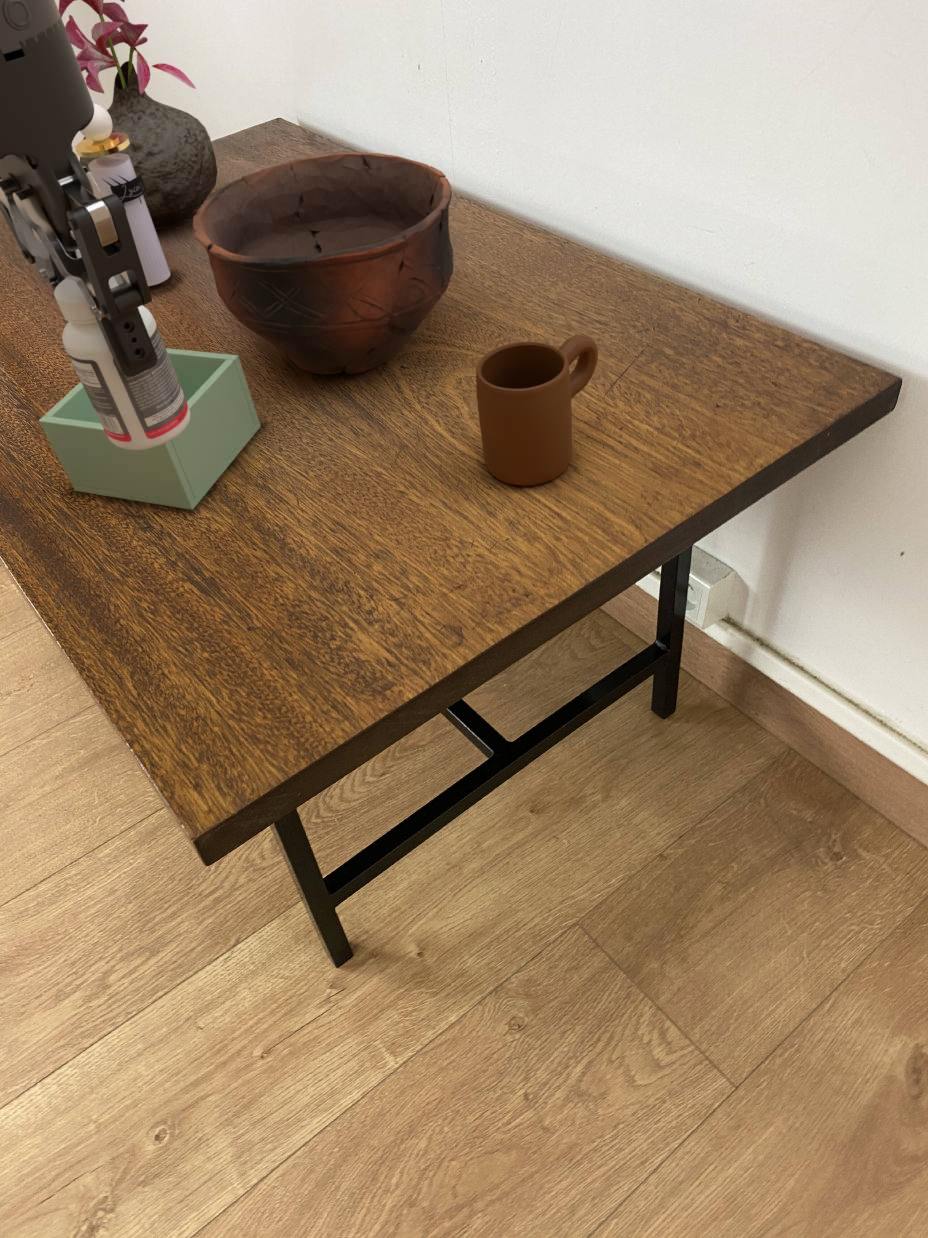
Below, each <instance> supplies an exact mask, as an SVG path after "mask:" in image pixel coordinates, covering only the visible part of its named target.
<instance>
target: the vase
mask: <svg viewBox="0 0 928 1238" xmlns="http://www.w3.org/2000/svg"><path fill="white" fill-rule="evenodd" d="M75 1H77V0H58V10H59V13H60V16H61V18H63V15H64V14H65V12H66V10H67V8H68V7H69V6H70V5H71V4H72V3H74V2H75ZM81 1H82V2H83V3H85V4H86V5H88V7H90V8H91V9H92V10H93V11H94V12H95V13H96V14H97V15H98V17H99V20H100V21H99V22H96V23H94V25H93V27H92V28H91V39H92V40H93V41H94V42H92V41H91V40H90V39H89V38H88V37H87V36H86V35H85V34H84V32H82V30H81V29H80V28H79V25H78V24H77V22H76V21H75V19H74V16H73V15H71V14H69V15H68V21H67V22H66V24H65V25H64V26H65V29H66V32H67V34H68V37H69V40H70V42H71V45H72V46H73V47H76V48H77V49H80V51H79V53H77V55H75V56H76V59H77V61H78V64H79V67H80V69H81V72H82V73H83V72H84V71H85V72H86V73H87V75H86V77H85V83H86V85H87V88H88V89H89V90H91V91H93V92H96V93H99V94H105V90H104V88H103V86H102V83H101V81H100V78H99V73H100V72H102V71H105V70H107V69H111V68H116V69H117V72H116V75H115V77H114V83H113V94H112V102H111V104H110V106H109V107H108V108H107V109H106V110H107V111H108V113H109V114H110V116H111V119H112V123H113V128H112V132H120V133H125V134H127V135H128V137H129V140H130V144H129V146H127V147H126V148H125V149H123V150H121V151H119V152H117V153H123V154H127V155H129V157H130V160H131V162H132V165H133V168H134V171H135V174H136V177H137V176H138V175H139V174H140V173H141V176H142V179H143V182H144V184H145V187H146V194H147V195H146V194H145V193H144V194H143V196H144V199H145V202H146V205H147V208H148V211H149V213H150V216H151V219H152V222H153V225H154V228H155V230H163V229H170V228H174V227H175V228H176V227H178V226H180V225H183V224H185V223H187V222H188V221H190V220H191V219H192V218H193V217H194V211H195V210H197V209H199V208H200V207H201V205H202V204H203V203H204V202H205V201H206V200H207V199H208V197H209V196H210V194H211V193H212V192H213V190H214V189H215V187H216V186H217V185H216V184H217V178H218V172H219V171H218V166H217V159H216V155H215V150H214V147H213V143H212V140H211V136H210V135H209V133H208V130H207V128H206V126H204V124H203V123H202V122H201V121H200V120H199V119H198V118H196V117H195V116H193V115H192V114H190V113H188V112H187V111H184V110H181V109H179V108H176V107H173V106H170V105H167V104H165V103H161V102H160V101H157V100H154V99H153V98H152V97H150V96H149V95H148V93H147V92H146V88H147V87H148V84H149V83H150V80H151V70H150V69H151V68H150V65H149V64H148V62H147V60H146V59H145V57H144V56H143V55H142V54H141V52H140V51H139V50H138V49H137V47H139V46H141V45H143V44H146V43H147V42H148V37H147V36H142V35H143V33H144V32H145V30H146V29H147V28H148V27H149V24H148V23H137V24H136V23H132V22H130V20H129V17H128V16H127V14H126V11H125V10H124V9H123V7H122V6H121V5H120V4H119V3H117V2H114V1H113V2H104V0H81ZM120 2H122V3H125V2H126V0H120ZM104 16H106V17H107V18H108V19H109V20H110V21H106V20H105V18H104ZM118 29H119V30H120V31H119V30H118ZM123 43H124V44H126V45H127V46H128V47H129V55H128V60H127V61H125V62H123V63H122V64H121V65H120V62H119V59H118V56H117V54H116V50H115V46H117V45H119V44H123ZM108 49H110V51H109V50H108ZM134 52H136V68H135V66H134V64H133V59H134ZM151 67H152V68H154V69H157V70H160V71H162V72H165V73H166V74H168V75H171V76H172V77H174V78H176V79H177V80H179V81H181V82H182V83H183V84H185V85H186V86H188V87H189V88H192V89H194V90H197V87H196V86H195V84H194V83H193V82H192V80H190V79H189V77H188V76H187V75H186V74H185V73H184V72H183V71H182V70H181V69H179V68H177V67H175V66H174V65H171V64H169V63H163V62H162V63H161V62H160V63H155V64H152V65H151ZM112 132H111V133H112ZM85 139H87V138H86V137H85V136H84V135H83V139H82V141H83V140H85ZM117 153H114V154H117ZM97 158H99V157H96V158H84V157H80V156H79V161H80V163H81V165H82V167H84V166H85V167H87V168H88V169H89V167H88V165H89V163H90V162H91V161H93V160H95V159H97ZM89 171H90V169H89ZM140 187H141V188H142V185H141V186H140ZM143 189H144V187H143ZM142 192H143V191H142ZM147 197H148V198H147Z"/></svg>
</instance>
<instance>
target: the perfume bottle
mask: <svg viewBox="0 0 928 1238" xmlns="http://www.w3.org/2000/svg"><path fill="white" fill-rule="evenodd" d="M93 105H94V116H93V119H92V121H91V122H90V124H89V125H88V126H87V127H86V128H85V129H84V130H81V131H79V132H80V133H81V135H82V136H83V137H84V136H85V137H86V138H87V139H85V140H83V139H82V140H81V141H79V142H78V143H77V144H76V145H74V146H75V147H74V148H75V151H76V155H77V156H79V158H80V157H84V158H96V157H99V158H97V159H95V160H93V161H91V162H90V163H89V165H88V167H89V169H90V172H91V174H92V175H93V177H94V179H95V181H96V183H97V185H98V187H99V189H100V191H101V194H102V198H103V197H105V196H108V195H110V194H113V193H114V194H115V195H117V197H118V198H119V199H120V200H121V202H122V203H123V205H124V207H125V212H126V215H127V218H128V222H129V225H130V228H131V231H132V235H133V238H134V241H135V245H136V248H137V251H138V254H139V258H140V261H141V264H142V268H143V271H144V274H145V277H146V281H147V284H148V287H151V286H152V287H153V286H156V285H159V284H162V283H163V282H165V281H167V280H168V279H169V278H170V277H171V273H172V272H171V270H170V267H169V265H168V261H167V259H166V255H165V253H164V250H163V248H162V245H161V242H160V239H159V236H158V233H157V229H155V228H154V225H153V222H152V219H151V216H150V213H149V211H148V208H147V205H146V202H145V199H144V196H143V194H144V193H145V194H146V187H145V184H144V182H143V179H142V176H141V173H140V174H139V175H138V176H137V177H136V174H135V171H134V168H133V165H132V162H131V160H130V157H129V155H127V154H123V153H117V152H119V151H121V150H123V149H125V148H126V147H127V146H129V144H130V140H129V137H128V135H127V134H125V133H120V132H112V128H113V123H112V119H111V116H110V114H109V113H108V111H107V110H108V109H106V108H105V107H103V106H102V104H99V103H98V102H97V103H96V102H93ZM111 132H112V133H111ZM114 153H117V154H114ZM141 185H142V188H141V187H140V186H141ZM143 187H144V189H143ZM142 191H143V192H142ZM146 195H147V194H146ZM147 198H148V197H147Z"/></svg>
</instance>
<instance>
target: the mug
mask: <svg viewBox="0 0 928 1238" xmlns="http://www.w3.org/2000/svg"><path fill="white" fill-rule="evenodd" d="M598 358H599V350H598V347H597V343H596V342H595V339H594V338H592V337H591V336H589V335H588V334H586V333H585V334H582V333H581V334H575V335H573V336H571V337H570V336H569V337H568V338H567V339H566V340H564V342H563V343H562V344H561V345H560V346H559V347H556V346H553V345H551V344H548V343H544V342H540V341H539V342H538V341H517V342H511V343H507V344H503V345H500V346H498V347H495V348H493V349H491V350H490V351H488V352H486V354H484V355H483V356H482V357H481V358H480V360H479V361H478V363H477V365H476V369H475V378H476V379H475V381H476V382H475V383H476V385H475V386H476V401H477V409H478V410H477V411H478V420H479V428H480V435H481V444H482V445H481V446H482V453H483V459H484V463H485V466H486V468H487V470H488V471H489V472H490V474H491V475H492V476H493V477H495V478H496V479H497V480H499V481H501V482H504V483H506V484H510V485H515V486H536V485H541V484H544V483H548V482H549V481H552V480H554V479H556V478H558V477H559V476H560V475H561V474H563V473H564V471H566V469H567V467H569V464H570V462H571V459H572V455H573V417H572V416H573V413H572V411H573V410H572V407H573V405H572V400H573V398H574V397H575V396H576V395H577V394H579V393H580V392H581V391H583V390H584V388H586V386H587V385H588V384H589V382H590V381H591V379H592V377H593V375H594V373H595V371H596V368H597V364H598ZM576 359H577V362H576V364H575V367H574V368H573V370H572V371H571V372H570V366H571V365H572V364H573V362H575V360H576Z"/></svg>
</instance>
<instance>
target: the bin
mask: <svg viewBox="0 0 928 1238" xmlns="http://www.w3.org/2000/svg"><path fill="white" fill-rule="evenodd" d="M165 348H166V350H167V353H168V355H169V358H170V361H171V363H172V366H173V368H174V371H175V373H176V376H177V378H178V381H179V383H180V386H181V389H182V391H183V393H184V396H185V398H186V401H187V404H188V407H189V410H190V421H189V423H188V425H187V426H186V428H185V429H184V430H183V431H182V432H181V433H180V434H179V435H178V436H176V437H175V438H173V439H171V440H169V441H168V442H166V443H164V444H162V445H159V446H156V447H152V448H148V449H143V450H128V449H123V448H120V447H118V446H116V445H115V444H113V443H112V442H111V441H110V440H109V438H108V436H107V434H106V432H105V430H104V428H103V426H102V425H101V422H100V420H99V418H98V416H97V414H96V412H95V410H94V408H93V405H92V403H91V401H90V399H89V397H88V395H87V393H86V391H85V389H84V387H83V385H82V383H81V381H80V382H79V383H78V384H77V385H75V386H74V387H73V388H72V389H71V390H69V392H68V393H67V394H65V396H63V397H62V398H61V399H60V400H59V401H57V403H55V405H54V406H52V407H51V408H50V409H49V410H48V411H47V412H46V413H45V414H44V415H43V416H41V418H39V419H38V423H39V425H40V427H41V429H42V431H43V433H44V434H45V436H46V438H47V440H48V442H49V444H50V446H51V447H52V449H53V451H54V453H55V456H56V457H57V459H58V461H59V462H60V464H61V466H62V469H63V470H64V472H65V474H66V477H67V478H68V480H69V482H70V484H71V485H72V488H73V490H74V491H75V492H81V493H85V494H92V495H99V496H105V497H110V498H117V499H122V500H128V501H136V502H141V503H147V504H153V505H160V506H167V507H172V508H178V509H185V510H189V511H193V510H194V509H195V508H196V507H197V505H198V504H199V503H200V502H201V500H202V499H203V498H204V497H205V496H206V494H207V493H208V492H209V491H210V489H212V487H213V486H214V484H215V483H216V482H218V479H219V478H220V477H221V476H222V475H223V473H224V472H226V470H227V469H228V467H229V466H230V465H231V464H232V462H233V461H234V460H235V459H236V458H237V456H238V455H239V454H240V453H241V451H242V450H243V449H244V448H245V446H246V445H247V444H248V443H249V442H250V440H251V439H252V438H253V437H254V435H255V434H256V433H257V432H258V431H259V429H260V428H261V422H260V419H259V416H258V413H257V410H256V408H255V404H254V401H253V397H252V395H251V394H252V393H251V392H250V389H249V385H248V381H247V379H246V375H245V372H244V369H243V366H242V364H241V360H240V357H239V355H238V354H228V353H219V352H209V351H200V350H199V351H198V350H188V349H178V348H169V347H168V348H167V347H165Z"/></svg>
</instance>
